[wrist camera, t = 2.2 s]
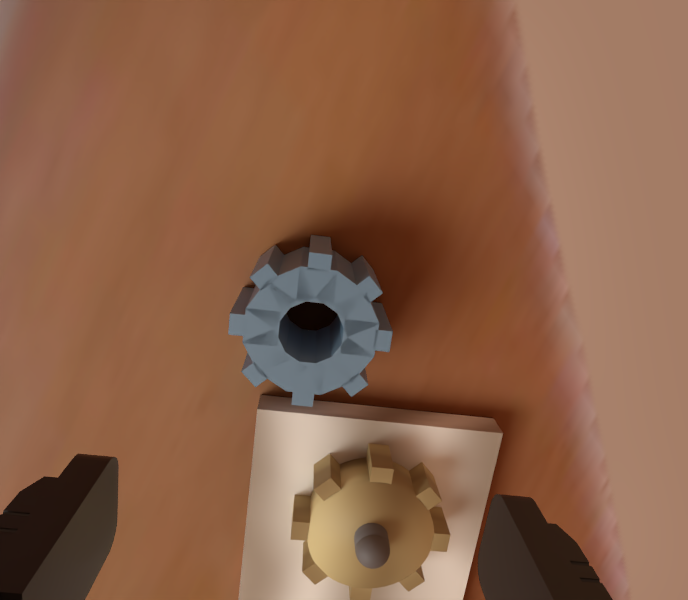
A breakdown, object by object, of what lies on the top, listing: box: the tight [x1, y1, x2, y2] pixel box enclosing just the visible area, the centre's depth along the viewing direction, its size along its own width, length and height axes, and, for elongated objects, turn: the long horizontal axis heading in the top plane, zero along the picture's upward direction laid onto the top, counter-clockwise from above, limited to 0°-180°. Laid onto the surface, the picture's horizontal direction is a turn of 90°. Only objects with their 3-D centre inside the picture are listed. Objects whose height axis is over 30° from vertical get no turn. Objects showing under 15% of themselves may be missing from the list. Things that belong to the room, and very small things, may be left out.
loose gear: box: [228, 235, 393, 407], centre depth 24 cm, size 7×7×4 cm
